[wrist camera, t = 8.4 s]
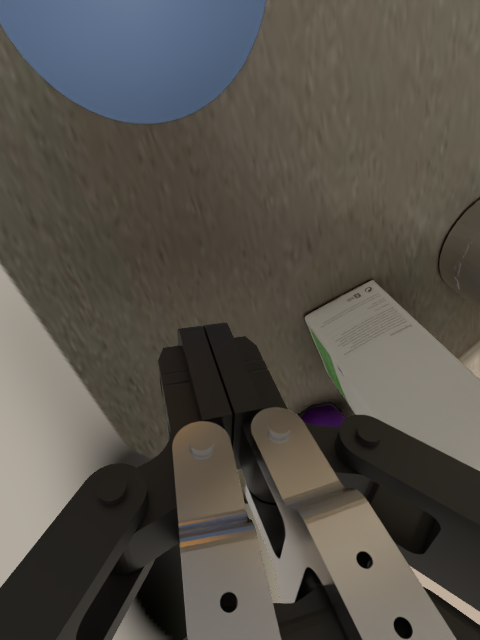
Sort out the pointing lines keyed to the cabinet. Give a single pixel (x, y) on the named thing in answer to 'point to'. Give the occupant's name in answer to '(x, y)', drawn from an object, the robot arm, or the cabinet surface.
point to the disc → (135, 51)
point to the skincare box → (398, 371)
